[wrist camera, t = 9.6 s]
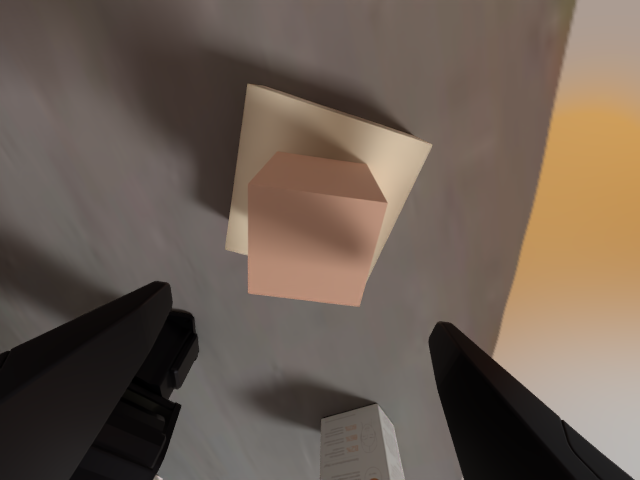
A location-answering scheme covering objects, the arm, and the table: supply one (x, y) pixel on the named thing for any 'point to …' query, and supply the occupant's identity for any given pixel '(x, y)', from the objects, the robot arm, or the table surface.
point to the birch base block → (320, 152)
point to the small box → (359, 446)
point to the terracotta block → (312, 228)
